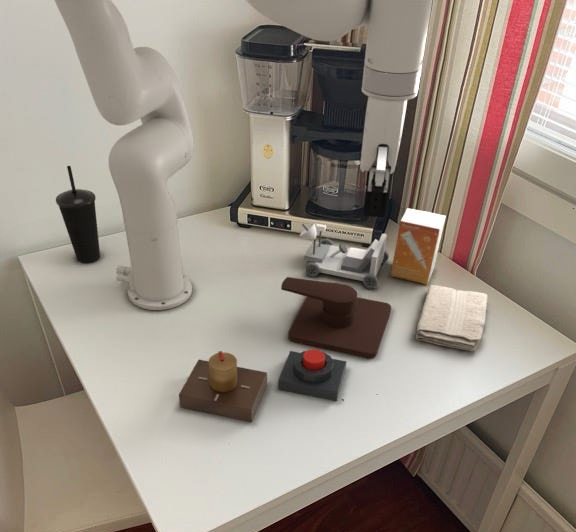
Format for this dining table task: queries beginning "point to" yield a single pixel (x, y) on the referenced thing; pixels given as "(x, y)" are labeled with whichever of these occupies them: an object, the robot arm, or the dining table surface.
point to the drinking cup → (80, 221)
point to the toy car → (344, 257)
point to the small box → (417, 245)
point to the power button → (313, 359)
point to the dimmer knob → (223, 371)
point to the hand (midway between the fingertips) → (374, 200)
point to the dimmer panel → (224, 393)
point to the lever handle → (337, 318)
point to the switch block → (312, 377)
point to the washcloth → (452, 318)
